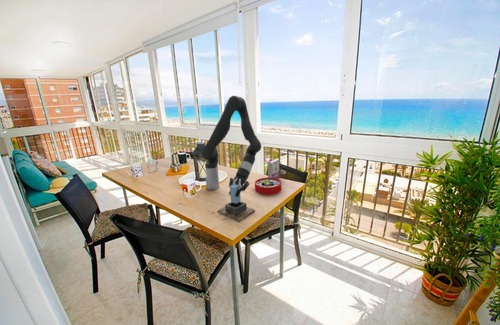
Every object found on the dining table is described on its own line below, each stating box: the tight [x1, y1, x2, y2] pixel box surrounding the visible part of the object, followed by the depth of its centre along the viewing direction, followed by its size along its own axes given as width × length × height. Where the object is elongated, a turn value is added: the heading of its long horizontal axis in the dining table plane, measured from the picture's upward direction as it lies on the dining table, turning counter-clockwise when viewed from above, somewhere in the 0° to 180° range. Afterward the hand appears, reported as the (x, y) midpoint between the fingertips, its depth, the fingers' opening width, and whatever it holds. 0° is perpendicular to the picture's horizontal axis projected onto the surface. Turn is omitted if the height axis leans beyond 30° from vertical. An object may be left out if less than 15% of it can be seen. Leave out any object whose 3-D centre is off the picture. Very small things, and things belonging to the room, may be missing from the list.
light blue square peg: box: [229, 184, 242, 204], centre depth 115 cm, size 4×4×10 cm
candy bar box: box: [266, 158, 280, 179], centre depth 166 cm, size 11×5×16 cm, turn 139°
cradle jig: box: [217, 200, 256, 223], centre depth 118 cm, size 18×14×5 cm
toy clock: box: [254, 177, 283, 196], centre depth 148 cm, size 20×6×20 cm
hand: (233, 195), depth 114 cm, fingers closed on light blue square peg, 4 cm apart
